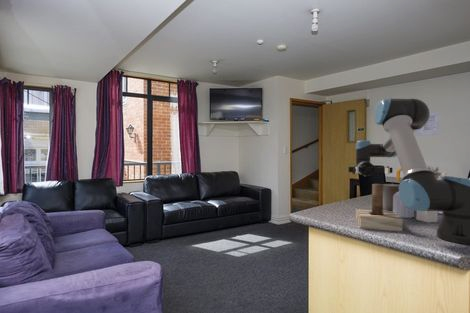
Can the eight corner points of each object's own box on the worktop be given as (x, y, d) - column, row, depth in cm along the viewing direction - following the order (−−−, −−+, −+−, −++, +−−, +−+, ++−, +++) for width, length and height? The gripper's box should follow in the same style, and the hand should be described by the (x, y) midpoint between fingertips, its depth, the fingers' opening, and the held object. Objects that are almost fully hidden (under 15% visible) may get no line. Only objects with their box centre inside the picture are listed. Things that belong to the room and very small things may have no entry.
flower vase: (448, 215, 154) (449, 166, 153) (406, 212, 162) (407, 165, 161) (443, 211, 165) (445, 165, 165) (405, 208, 173) (406, 164, 173)
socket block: (355, 219, 144) (355, 209, 144) (392, 222, 140) (392, 211, 140) (360, 228, 129) (360, 216, 129) (402, 231, 125) (402, 219, 125)
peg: (384, 226, 133) (385, 185, 133) (374, 226, 133) (375, 185, 132) (378, 223, 137) (379, 183, 137) (369, 223, 137) (370, 183, 136)
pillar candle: (404, 209, 170) (404, 182, 170) (397, 211, 163) (398, 183, 163) (386, 207, 177) (386, 181, 177) (379, 209, 170) (379, 182, 170)
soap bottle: (416, 218, 148) (417, 168, 147) (395, 217, 149) (396, 167, 149) (409, 214, 156) (410, 166, 156) (390, 213, 158) (391, 166, 157)
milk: (437, 222, 141) (439, 174, 141) (427, 222, 140) (428, 174, 139) (425, 218, 147) (427, 173, 146) (415, 219, 145) (417, 173, 145)
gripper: (390, 176, 162) (402, 179, 141) (341, 175, 168) (345, 178, 147) (391, 162, 162) (402, 163, 141) (341, 161, 168) (345, 162, 147)
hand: (373, 170), depth 144 cm, fingers open, 13 cm apart
